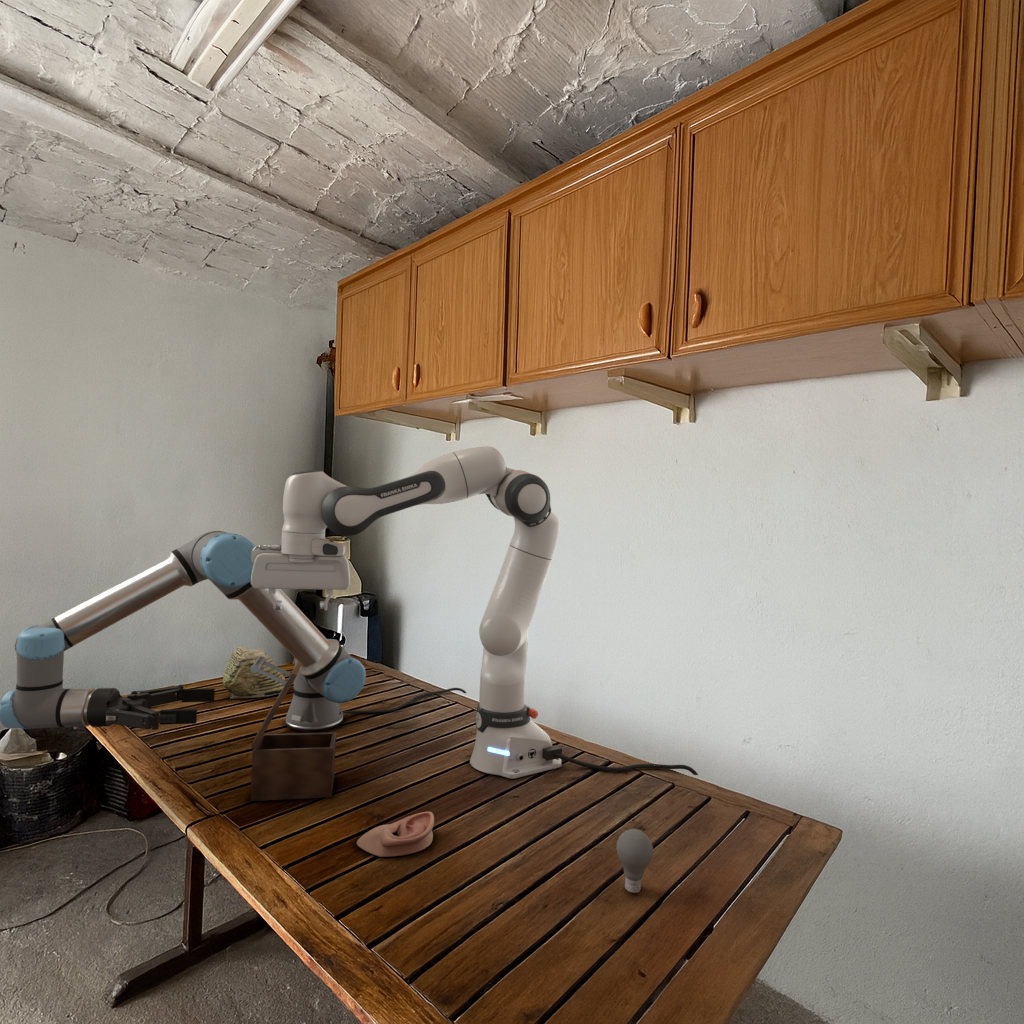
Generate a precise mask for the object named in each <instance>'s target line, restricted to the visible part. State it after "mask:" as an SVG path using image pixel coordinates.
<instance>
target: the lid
mask: <svg viewBox="0 0 1024 1024" xmlns="http://www.w3.org/2000/svg"><path fill="white" fill-rule="evenodd" d="M263 665H266V666H268V667H270V668H272V669H274V670H276V671H278V672H280V673H282V675H284V676H287V677H288V678H287V680H286V679H285V680H286V681H285V680H283V679H281V678H279V677H277V676H275V675H272V674H270V673H268V672H266V671H264V670H262V669H261V668H262V666H263ZM275 665H276V664H275ZM275 665H273V664H271V663H269V662H267V661H266V659H265V658H264V657H262V656H260V657H258V659H257V660H256V661H255V662H254V664H253V665H252V666H251V668H250V671H251V672H252V673H254V674H256V673H260V674H262V675H264V676H266V677H269V678H271V679H273V680H275V681H277V682H279V683H281V684H283V685H284V687H283V689H282V691H281V692H280V694H278V695H277V697H276V699H275V701H274V703H273V704H272V707H271V708H270V710H269V711H268V713H267V715H266V717H265V718H264V720H263V722H262V724H261V726H260V727H259V729H258V731H257V733H256V735H255V737H254V739H253V741H252V743H251V745H250V748H252V749H255V748H256V747H257V745H258V743H259V741H260V739H261V738H262V736H263V734H265V732H266V731H267V729H268V727H269V726H270V724H271V722H272V720H273V719H274V717H275V715H276V713H277V712H278V710H279V708H280V706H281V705H282V703H283V701H284V699H285V697H286V695H287V694H288V692H289V690H290V688H291V687H292V685H293V684H294V680H295V678H296V676H297V674H298V672H299V670H300V668H301V666H302V664H301V663H299V662H297V664H296V666H295V665H294V667H295V668H293V669H292V671H291V672H290V671H288V670H286V669H283V668H282V667H279V666H277V665H276V666H275Z"/></svg>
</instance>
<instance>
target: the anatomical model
mask: <svg viewBox="0 0 1024 1024" xmlns="http://www.w3.org/2000/svg"><path fill="white" fill-rule="evenodd" d="M434 826H435V815H434V814H433V812H431V811H422V812H418V813H415V814H411V815H409V816H406V817H404V818H402V819H399V820H397V821H395V822H392V823H389V824H388V823H387V824H382V825H378V826H376V827H374V828H372V829H370V830H368V831H367V832H365V833H364V834H363V835H361V836H360V837H359V838H358V839H357V841H356V845H357V847H359V848H360V849H362V850H363V851H365V852H366V853H369V854H371V855H373V856H375V857H376V856H377V857H380V858H385V857H386V858H387V857H397V856H405V855H410V854H414V853H418V852H420V851H423V850H425V849H427V848H428V847H430V845H431V844H432V842H433V838H434V834H433V829H434Z"/></svg>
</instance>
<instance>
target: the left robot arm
mask: <svg viewBox="0 0 1024 1024" xmlns="http://www.w3.org/2000/svg"><path fill="white" fill-rule="evenodd" d="M255 547H257V546H256V545H255V544H254V543H253V542H252V541H251V540H250V539H249V538H247V537H245V536H243V535H241V534H238V533H233V532H227V531H221V530H212V531H208V532H205V533H203V534H200V535H199V536H196V537H194V538H193V539H192V540H190V541H188V542H186V543H185V544H182V545H180V546H179V547H178V548H175V549H173V550H172V551H169V553H168V554H167V558H166V559H164V560H162V561H160V562H158V563H156V564H154V565H152V566H150V567H148V568H147V569H144V570H143V571H141V572H139V573H137V574H135V575H133V576H131V577H129V578H127V579H126V580H123V581H121V582H120V583H118V584H115V585H113V586H112V587H109V588H108V589H106V590H104V591H102V592H100V593H98V594H96V595H95V596H92V597H91V598H89V599H87V600H85V601H83V602H81V603H79V604H77V605H75V606H73V607H71V608H69V609H67V610H66V611H63V612H61V613H59V614H58V615H55V616H54V617H52V618H50V619H48V620H47V621H44V622H42V623H41V624H32V625H29V626H28V627H26V628H25V629H23V630H22V631H21V632H20V633H19V634H18V636H17V637H16V639H15V643H14V651H15V656H16V686H15V688H14V689H11V690H9V691H7V692H6V693H5V694H4V695H3V697H2V699H1V700H0V724H1V726H3V727H4V728H7V729H22V730H23V729H24V730H33V729H53V728H57V729H58V728H73V730H79V729H80V728H85V727H86V728H88V727H92V728H105V727H111V726H113V725H115V726H116V725H118V726H123V727H129V728H136V729H141V730H148V731H149V730H152V731H156V730H159V727H160V726H159V725H163V726H164V725H196V724H197V723H198V708H180V709H179V708H177V709H176V708H175V709H172V708H170V709H160V711H157V710H154V709H151V708H153V707H157V706H162V705H167V704H172V703H176V702H181V703H214V702H215V696H216V693H215V692H216V688H213V687H212V688H184V684H178V685H176V686H168V687H161V688H154V689H145V690H132V691H130V694H127V695H126V696H122V695H121V693H120V690H119V689H118V688H117V687H98V688H94V687H84V688H83V687H82V688H80V687H79V688H78V687H77V688H64V687H63V684H64V678H63V677H64V663H65V662H64V660H65V659H64V658H65V657H64V656H65V652H66V651H68V650H70V649H71V648H73V647H74V646H76V645H78V644H80V643H82V642H84V641H86V640H87V639H89V638H91V637H92V636H95V635H96V634H98V633H100V632H102V631H104V630H106V629H107V628H110V627H111V626H113V625H114V624H116V623H118V622H120V621H123V619H126V618H127V617H130V616H131V615H133V614H135V613H137V612H139V611H141V610H142V609H144V608H146V607H147V606H150V605H152V604H153V603H155V602H157V601H158V600H160V599H162V598H165V597H167V596H168V595H170V594H172V593H173V592H176V591H177V590H178V589H180V588H182V587H185V586H186V587H193V586H195V585H197V584H198V583H200V582H201V583H202V582H203V581H206V580H209V581H210V582H211V584H213V585H214V586H215V588H217V589H218V591H219V592H221V593H222V594H223V595H224V596H225V597H226V598H227V599H228V600H230V601H231V600H238V601H239V602H240V603H241V604H242V605H243V606H244V607H245V608H246V609H247V610H248V611H249V612H250V613H251V614H252V615H253V616H254V618H255V619H257V621H259V622H260V623H261V625H262V626H263V627H265V629H266V630H267V631H268V632H269V633H270V634H271V635H272V636H273V637H274V638H275V639H276V640H277V641H278V642H279V643H280V644H281V645H282V646H283V647H284V648H285V649H286V650H287V651H288V652H289V653H290V654H291V656H293V658H294V668H295V666H296V664H297V662H299V663H301V664H302V666H301V668H300V670H299V672H298V674H297V676H296V678H295V680H294V681H293V695H292V696H293V697H292V699H291V702H290V704H289V708H288V711H287V713H286V715H285V726H286V728H287V729H289V730H291V731H294V732H295V731H296V732H300V733H319V732H325V731H329V730H332V729H335V728H337V727H339V726H340V725H342V723H343V722H344V715H347V714H349V715H350V714H351V715H352V714H353V715H355V714H384V713H390V712H394V711H397V710H400V709H402V708H404V707H407V706H408V705H411V704H412V703H413V702H415V701H417V700H418V699H421V698H424V697H428V696H431V695H440V694H445V693H448V692H453V691H458V692H462V693H463V694H467V693H468V692H467V691H466V690H465V689H463V688H460V687H451V688H447V689H442V690H438V691H432V692H426V693H423V694H419V695H417V696H414V697H413V698H411V699H410V700H408V701H407V702H404V703H402V704H400V705H397V706H395V707H392V708H387V709H378V710H343V709H342V706H341V704H344V703H347V702H350V701H352V700H354V699H355V698H356V697H357V696H358V695H359V694H360V693H361V692H362V690H363V688H364V686H365V684H366V678H367V673H366V668H365V666H364V664H363V663H362V662H361V661H360V660H359V659H357V658H356V657H353V656H352V655H350V653H349V652H347V650H346V649H345V648H344V647H343V646H342V645H341V644H340V642H339V640H338V639H334V638H326V636H325V635H324V634H323V633H322V632H321V631H320V630H319V629H318V628H317V626H316V625H314V624H313V622H312V620H310V619H309V618H308V617H307V616H306V615H305V613H303V611H302V610H301V609H300V608H299V607H298V606H297V605H296V604H295V602H294V601H293V600H291V598H290V597H289V596H288V595H287V594H286V592H285V591H283V589H277V592H276V593H275V595H276V597H277V599H278V601H282V604H281V605H282V609H281V610H273V605H274V602H273V601H272V599H271V598H270V596H269V594H268V590H269V589H258V588H254V587H253V586H252V585H251V575H252V569H253V565H254V564H253V563H252V561H251V553H252V550H253V549H254V548H255ZM256 550H258V548H257V549H256ZM294 668H293V669H294Z"/></svg>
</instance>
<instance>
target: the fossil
mask: <svg viewBox="0 0 1024 1024" xmlns="http://www.w3.org/2000/svg"><path fill="white" fill-rule="evenodd" d="M260 656H262V657H264V658H265V659H266V661H267V662H269V663H271V664H273V665H275V666H277V665H276V663H275V662H274V660H273V659H272V658H271V657H270V656H269V655H268V654H267V653H266V652H265V650H264V649H263V648H260V647H258V648H251V647H247V646H246V647H245V646H238V647H237V648H236V649H235V650H233V651H232V653H231V656H230V657H229V659H228V660H227V663H226V666H225V668H224V671H223V675H222V676H223V677H222V685H223V687H224V688H225V690H226V691H228V693H229V698H230V699H250V698H264V697H271V696H275V695H279V694H280V692H281V691H282V689H283V687H284V685H283V684H281V683H279V682H277V681H275V680H273V679H271V678H269V677H266V676H264V675H262V674H260V673H256V674H254V673H252V672H251V671H250V668H251V666H252V665H253V664H254V662H255V661H256V660H257V659H258V657H260ZM261 669H262V670H264V671H266V672H268V673H270V674H272V675H275V676H277V677H279V678H281V679H283V680H285V681H287V680H286V678H285V675H284V674H282V673H280V672H278V671H276V670H274V669H272V668H270V667H268V666H266V665H263V666H262V668H261Z"/></svg>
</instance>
